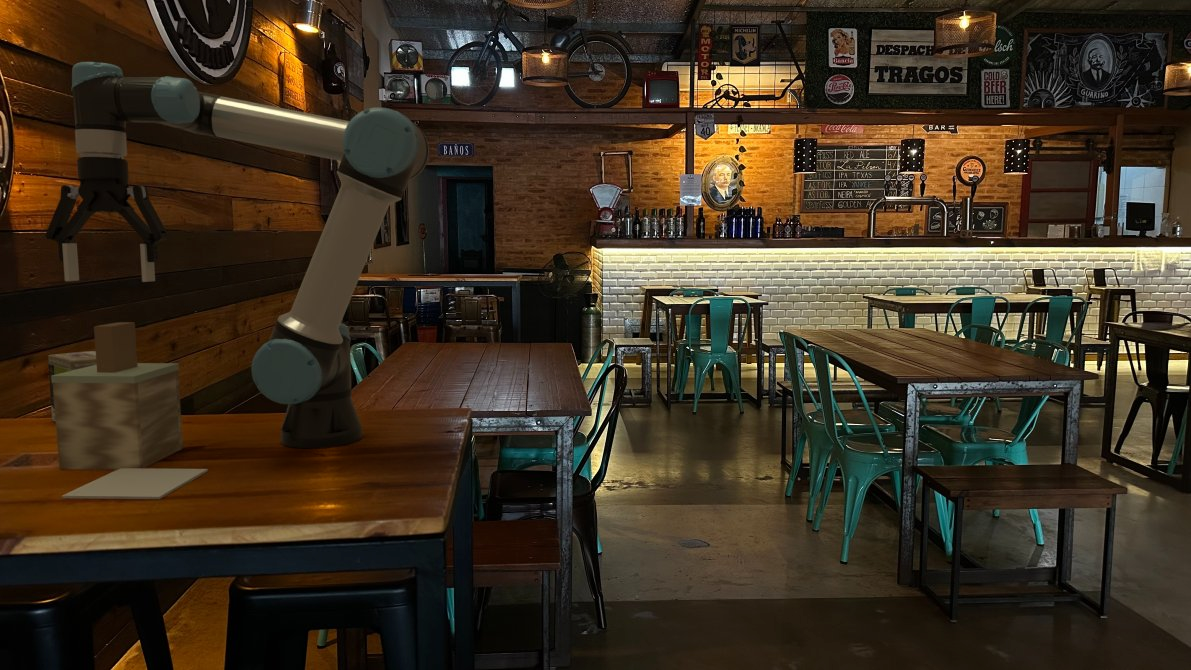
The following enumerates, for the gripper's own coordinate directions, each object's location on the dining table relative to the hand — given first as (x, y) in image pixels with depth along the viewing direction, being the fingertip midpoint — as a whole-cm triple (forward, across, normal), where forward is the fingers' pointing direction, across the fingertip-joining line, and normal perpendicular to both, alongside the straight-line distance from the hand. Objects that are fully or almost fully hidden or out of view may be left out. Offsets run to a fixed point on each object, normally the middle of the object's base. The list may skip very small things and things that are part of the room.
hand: (110, 281), depth 144 cm
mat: (+32, -12, +15) cm, 37 cm away
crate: (+32, 0, 0) cm, 32 cm away
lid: (+18, 0, 0) cm, 18 cm away
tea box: (+32, +24, -28) cm, 49 cm away
